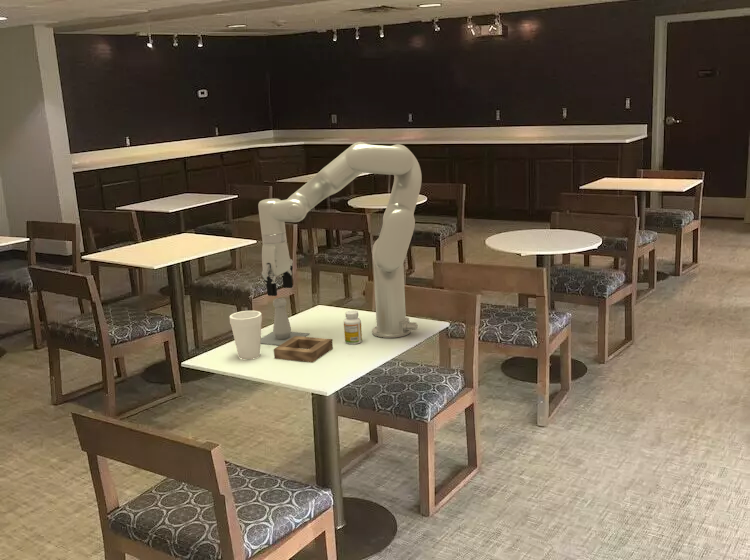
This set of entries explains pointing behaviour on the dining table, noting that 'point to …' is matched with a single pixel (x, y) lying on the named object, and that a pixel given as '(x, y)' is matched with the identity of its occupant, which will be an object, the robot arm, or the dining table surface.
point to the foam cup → (247, 333)
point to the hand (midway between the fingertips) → (280, 291)
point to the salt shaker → (281, 319)
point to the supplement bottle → (352, 328)
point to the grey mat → (272, 339)
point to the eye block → (303, 349)
